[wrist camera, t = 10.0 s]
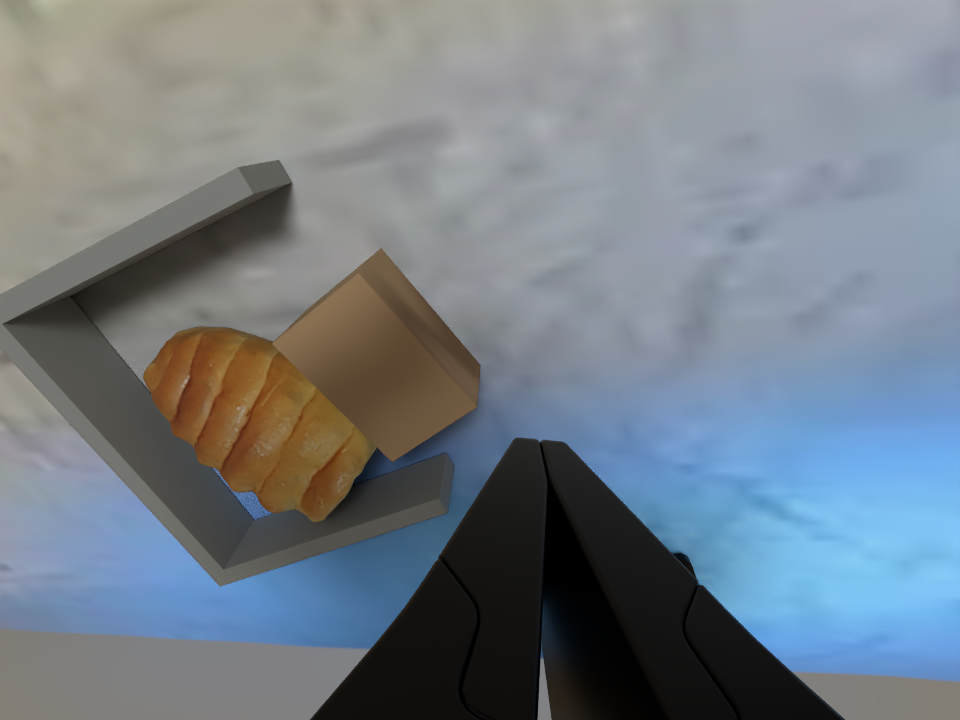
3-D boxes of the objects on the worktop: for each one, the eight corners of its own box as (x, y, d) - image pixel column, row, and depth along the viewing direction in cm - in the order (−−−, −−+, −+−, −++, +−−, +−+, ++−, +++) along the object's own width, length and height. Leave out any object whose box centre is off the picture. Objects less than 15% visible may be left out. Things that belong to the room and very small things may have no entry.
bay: (454, 466, 23) (447, 512, 20) (250, 536, 25) (219, 586, 22) (278, 160, 17) (237, 167, 15) (40, 286, 20) (-34, 312, 17)
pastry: (150, 399, 22) (85, 450, 19) (205, 276, 20) (142, 309, 16) (338, 498, 24) (311, 560, 21) (410, 398, 22) (393, 450, 18)
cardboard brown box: (480, 363, 21) (477, 407, 17) (407, 412, 22) (392, 462, 19) (382, 247, 19) (358, 273, 15) (308, 308, 20) (272, 344, 17)
